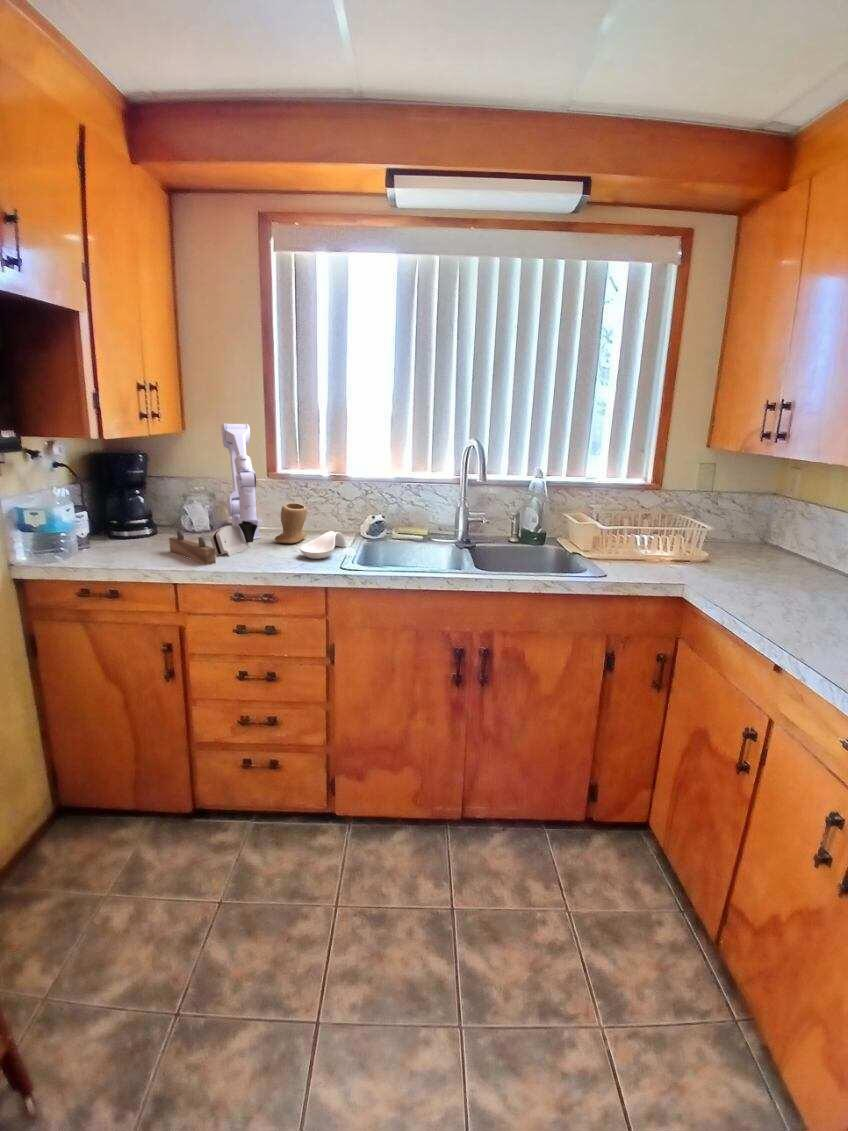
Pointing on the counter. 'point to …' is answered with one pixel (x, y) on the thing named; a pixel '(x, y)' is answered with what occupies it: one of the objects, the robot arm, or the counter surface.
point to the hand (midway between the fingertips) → (249, 542)
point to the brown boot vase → (292, 523)
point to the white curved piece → (228, 540)
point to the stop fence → (192, 549)
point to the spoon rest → (323, 545)
